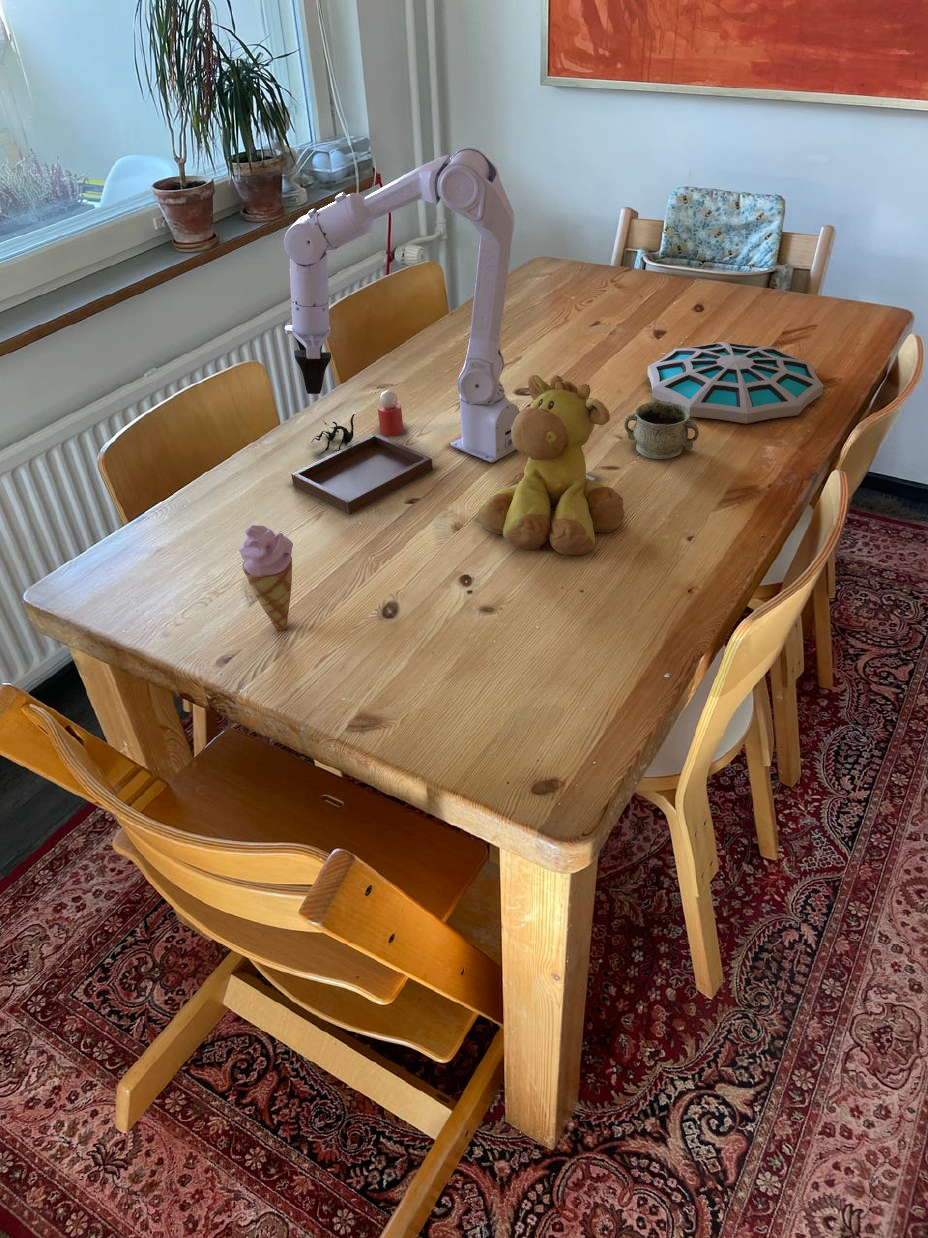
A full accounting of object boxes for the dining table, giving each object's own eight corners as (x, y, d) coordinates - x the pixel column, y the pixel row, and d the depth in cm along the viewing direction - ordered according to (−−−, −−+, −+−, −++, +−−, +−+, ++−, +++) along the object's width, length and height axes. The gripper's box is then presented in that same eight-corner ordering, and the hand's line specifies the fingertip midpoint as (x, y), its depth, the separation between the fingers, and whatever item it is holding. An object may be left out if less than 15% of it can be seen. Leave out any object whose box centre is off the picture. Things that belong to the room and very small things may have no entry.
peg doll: (408, 429, 161) (404, 390, 157) (391, 437, 159) (387, 398, 154) (392, 422, 163) (388, 383, 159) (375, 431, 161) (370, 391, 157)
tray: (433, 469, 150) (432, 457, 148) (349, 514, 140) (347, 502, 139) (375, 444, 157) (374, 433, 156) (293, 485, 148) (291, 473, 146)
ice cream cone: (260, 612, 122) (237, 513, 113) (307, 607, 122) (289, 509, 113) (255, 644, 117) (231, 543, 108) (305, 640, 117) (286, 539, 108)
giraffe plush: (462, 544, 132) (455, 419, 121) (517, 465, 149) (515, 349, 138) (603, 570, 126) (610, 441, 114) (643, 484, 143) (654, 364, 131)
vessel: (616, 455, 151) (618, 419, 147) (629, 431, 157) (632, 395, 153) (690, 466, 147) (695, 429, 143) (701, 440, 153) (706, 405, 149)
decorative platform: (627, 411, 163) (629, 384, 160) (664, 347, 184) (666, 322, 181) (812, 434, 153) (818, 406, 150) (829, 364, 174) (834, 338, 171)
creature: (307, 462, 156) (351, 455, 153) (296, 433, 153) (340, 426, 150) (322, 440, 162) (364, 433, 159) (311, 412, 159) (354, 404, 156)
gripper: (282, 282, 149) (286, 363, 158) (284, 318, 138) (289, 402, 147) (327, 283, 150) (328, 363, 159) (333, 318, 140) (334, 402, 148)
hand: (312, 382), depth 153 cm, fingers open, 7 cm apart
